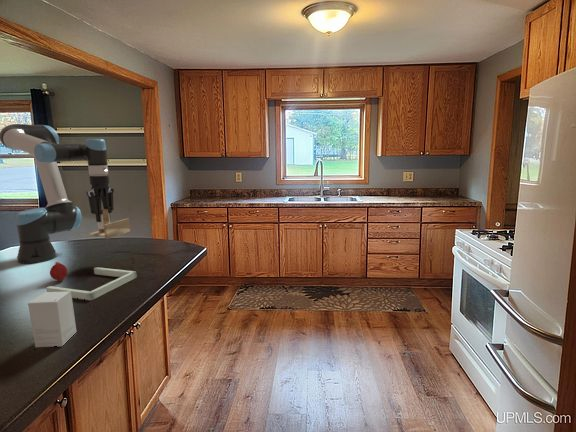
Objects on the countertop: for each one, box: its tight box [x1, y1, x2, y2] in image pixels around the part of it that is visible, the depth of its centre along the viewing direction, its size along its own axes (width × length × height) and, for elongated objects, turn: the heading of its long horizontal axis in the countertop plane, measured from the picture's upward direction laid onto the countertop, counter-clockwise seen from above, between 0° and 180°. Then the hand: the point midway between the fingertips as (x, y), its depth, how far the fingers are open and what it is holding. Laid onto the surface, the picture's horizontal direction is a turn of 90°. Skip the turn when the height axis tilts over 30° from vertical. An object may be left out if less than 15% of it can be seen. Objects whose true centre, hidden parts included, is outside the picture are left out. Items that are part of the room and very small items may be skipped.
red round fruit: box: [49, 261, 69, 282], centre depth 141 cm, size 6×6×8 cm
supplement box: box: [27, 291, 78, 348], centre depth 97 cm, size 7×7×13 cm
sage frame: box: [46, 266, 138, 301], centre depth 137 cm, size 20×23×2 cm
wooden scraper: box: [89, 208, 131, 240], centre depth 160 cm, size 11×14×11 cm
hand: (104, 227), depth 161 cm, fingers closed on wooden scraper, 3 cm apart
